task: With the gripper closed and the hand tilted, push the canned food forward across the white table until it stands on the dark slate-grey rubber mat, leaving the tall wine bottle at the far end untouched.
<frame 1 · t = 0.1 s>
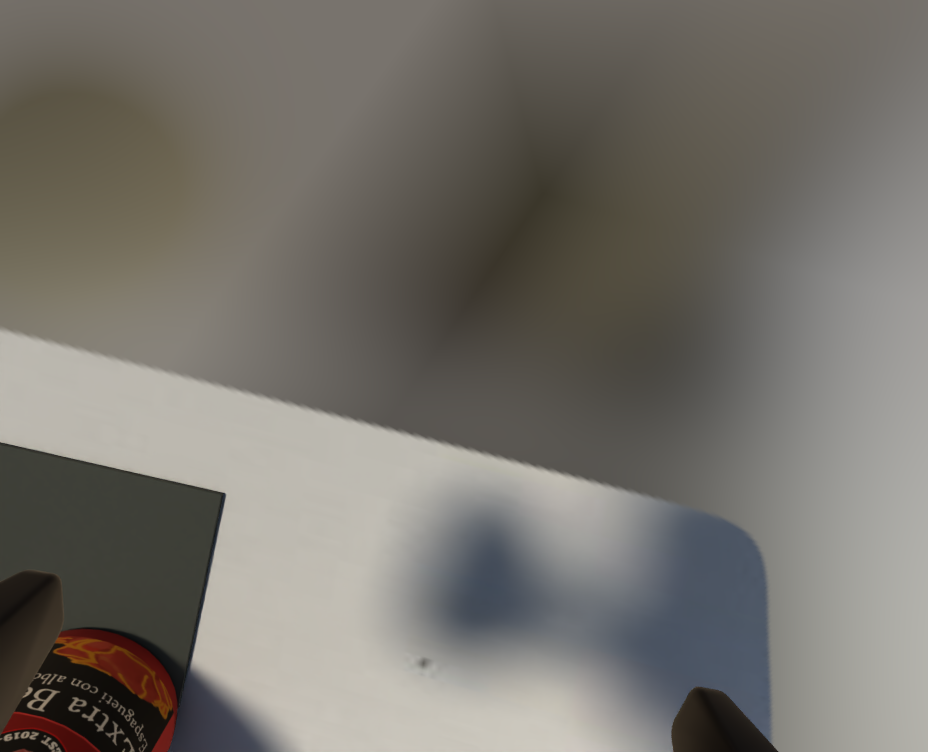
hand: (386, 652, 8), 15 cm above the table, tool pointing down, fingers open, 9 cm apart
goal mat: (29, 566, 24), on the table
canned food: (94, 699, 25), on the table, touching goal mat
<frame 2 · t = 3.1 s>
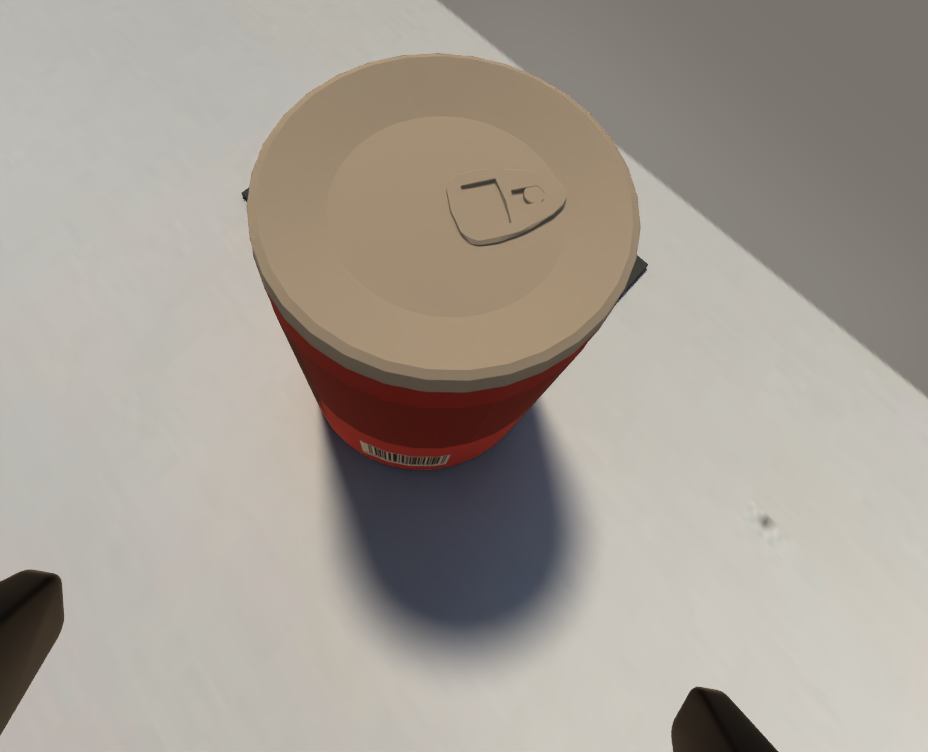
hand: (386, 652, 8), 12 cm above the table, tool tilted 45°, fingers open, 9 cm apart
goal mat: (451, 232, 24), on the table
canned food: (423, 374, 22), on the table, touching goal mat
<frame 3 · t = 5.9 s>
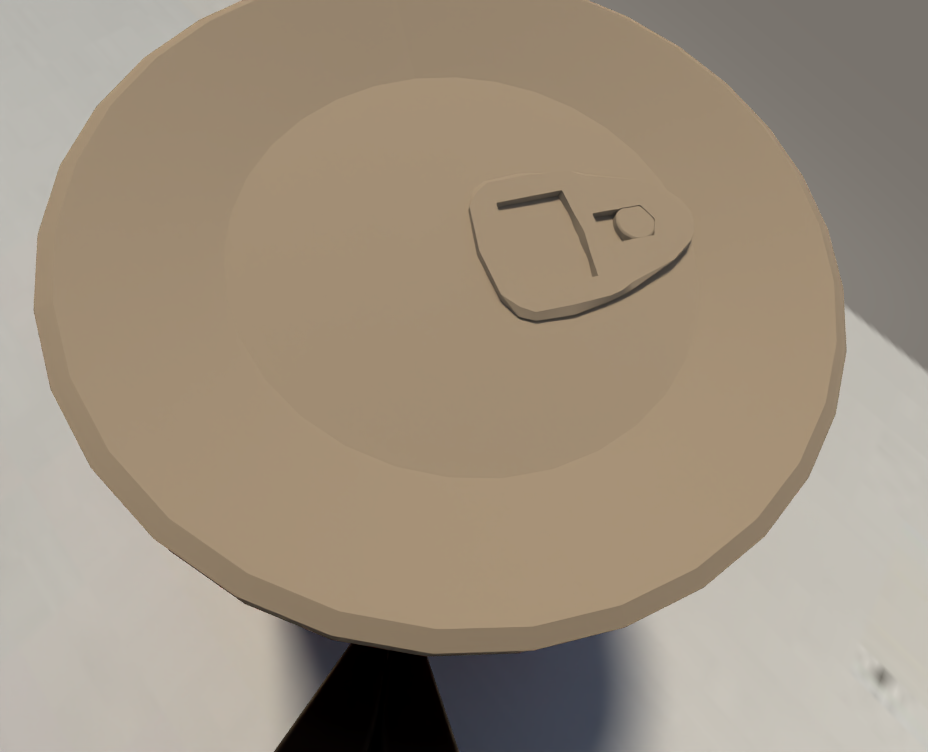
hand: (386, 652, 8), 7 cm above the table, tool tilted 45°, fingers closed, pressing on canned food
canned food: (409, 468, 16), on the table, touching gripper
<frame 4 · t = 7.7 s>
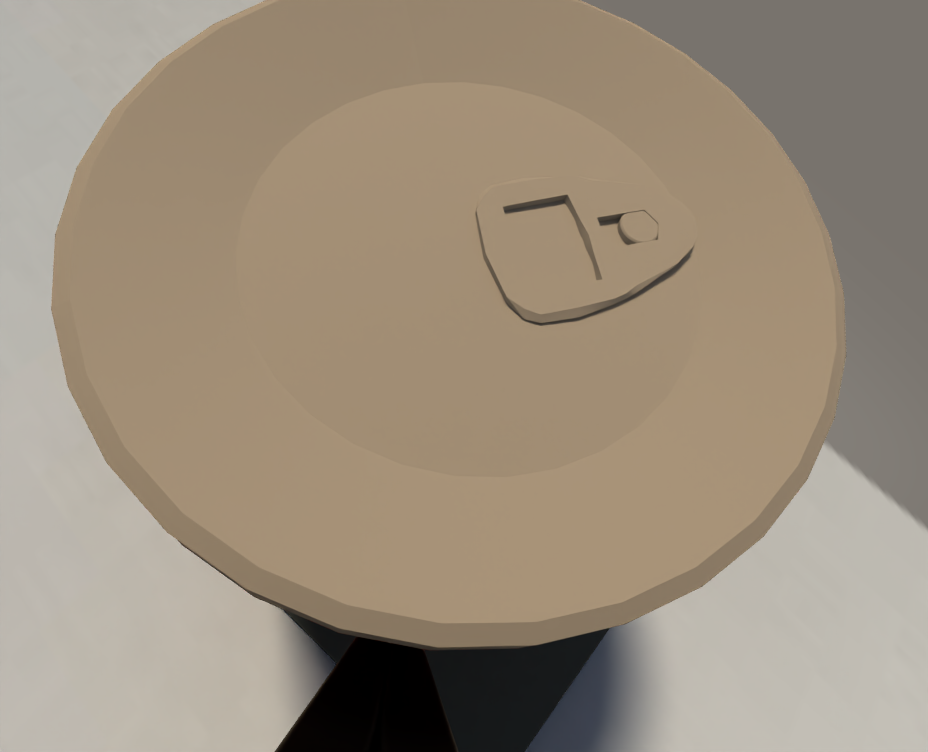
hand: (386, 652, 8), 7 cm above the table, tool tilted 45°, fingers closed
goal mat: (410, 452, 16), on the table
canned food: (412, 466, 16), resting on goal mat
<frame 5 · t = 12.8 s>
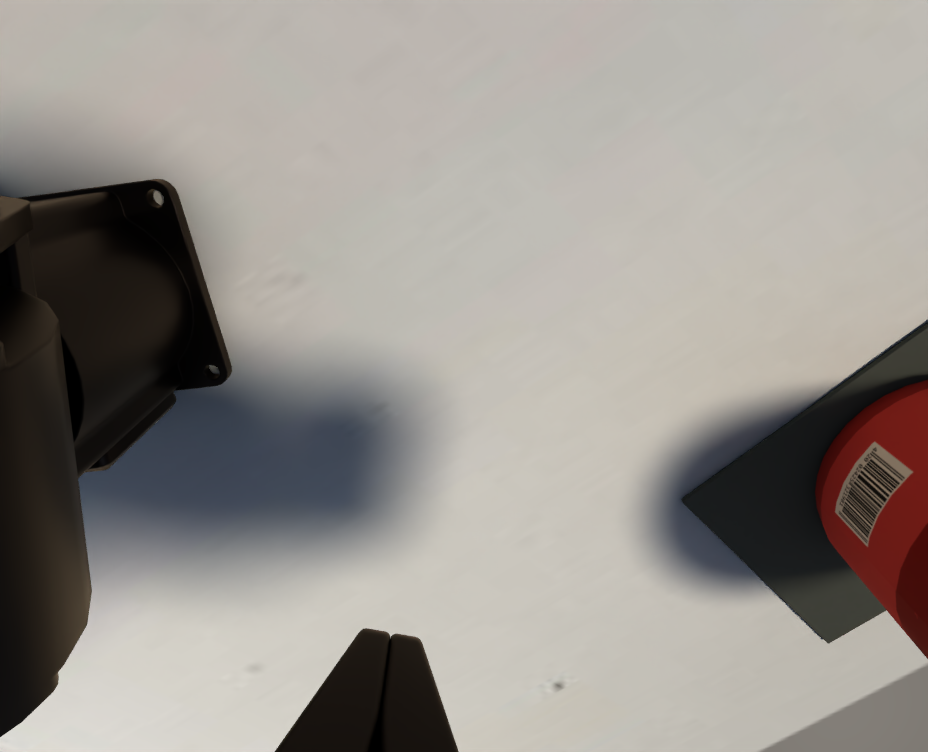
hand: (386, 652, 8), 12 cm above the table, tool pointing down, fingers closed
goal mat: (924, 467, 21), on the table
canned food: (913, 468, 21), resting on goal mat
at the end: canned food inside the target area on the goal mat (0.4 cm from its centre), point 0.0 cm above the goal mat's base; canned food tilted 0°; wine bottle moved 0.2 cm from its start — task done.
